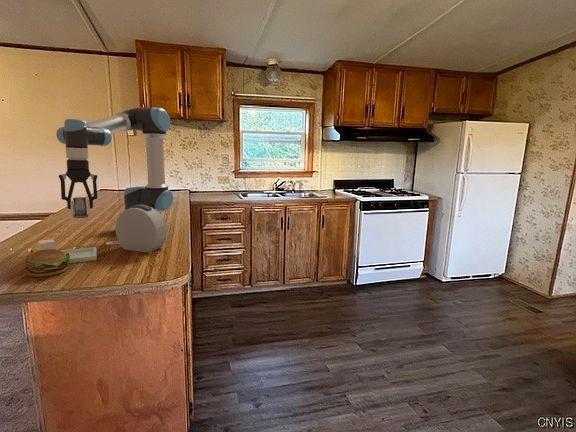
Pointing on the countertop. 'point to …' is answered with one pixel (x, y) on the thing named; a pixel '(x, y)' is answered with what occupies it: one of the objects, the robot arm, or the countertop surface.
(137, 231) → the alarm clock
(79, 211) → the metal door knob
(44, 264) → the food
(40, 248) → the cream block
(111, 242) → the label tile
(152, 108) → the robot arm
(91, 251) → the tray
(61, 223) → the countertop surface
